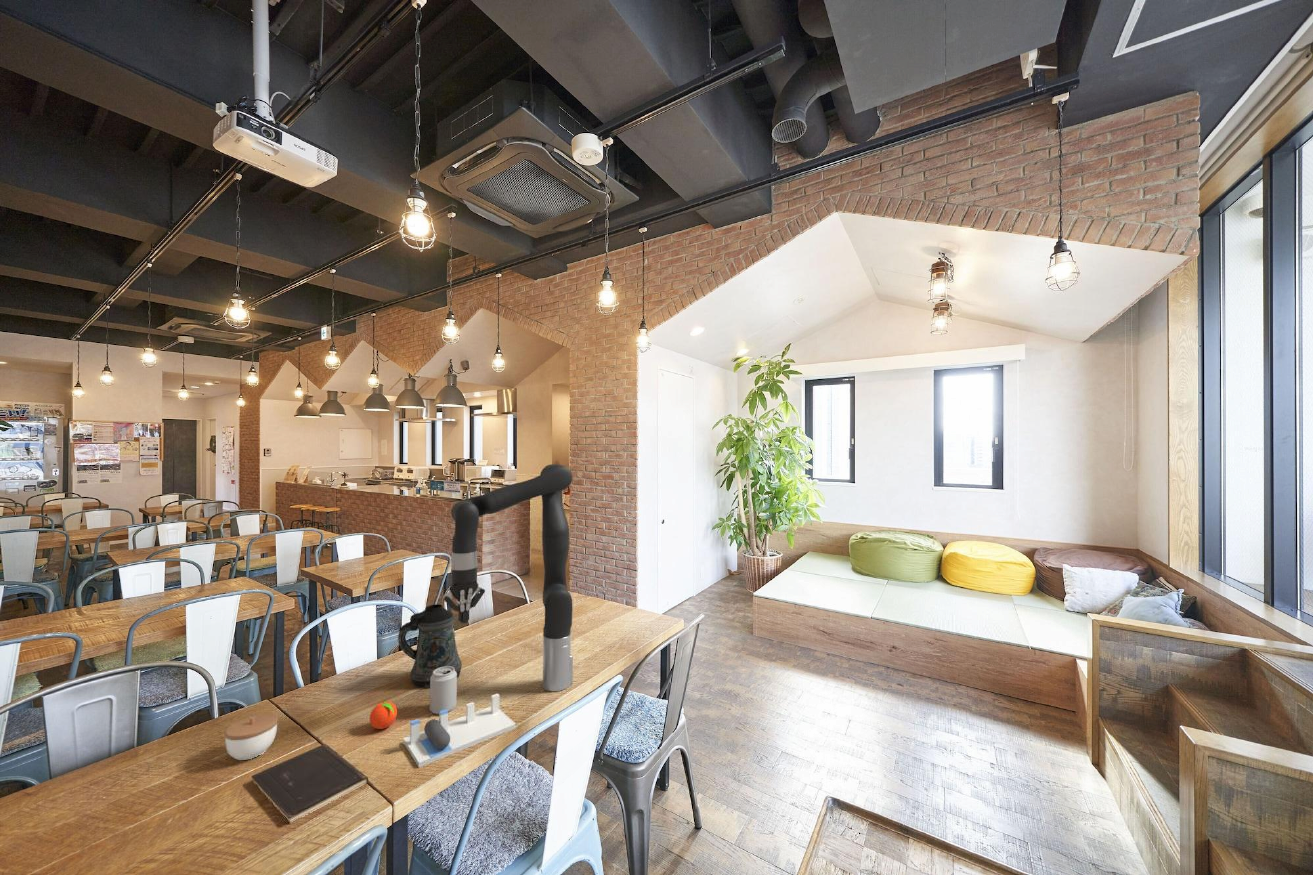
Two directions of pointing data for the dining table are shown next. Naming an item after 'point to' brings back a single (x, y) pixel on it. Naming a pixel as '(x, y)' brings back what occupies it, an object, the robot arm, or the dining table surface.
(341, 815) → the dining table surface
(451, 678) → the can
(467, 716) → the white peg board
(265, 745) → the lidded jar
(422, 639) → the beer stein
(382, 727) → the clementine
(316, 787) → the hardcover book
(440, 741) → the dark grey rounded cylinder
